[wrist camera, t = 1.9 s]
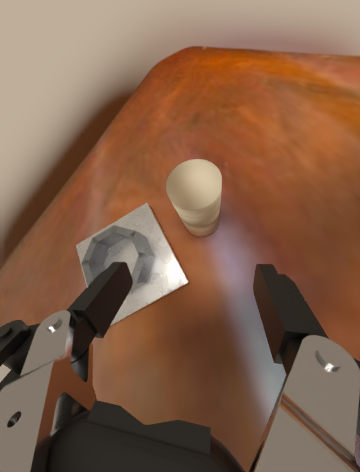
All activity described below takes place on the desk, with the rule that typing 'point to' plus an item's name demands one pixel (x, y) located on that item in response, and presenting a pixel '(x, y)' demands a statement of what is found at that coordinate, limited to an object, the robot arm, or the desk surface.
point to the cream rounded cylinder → (196, 195)
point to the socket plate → (134, 258)
